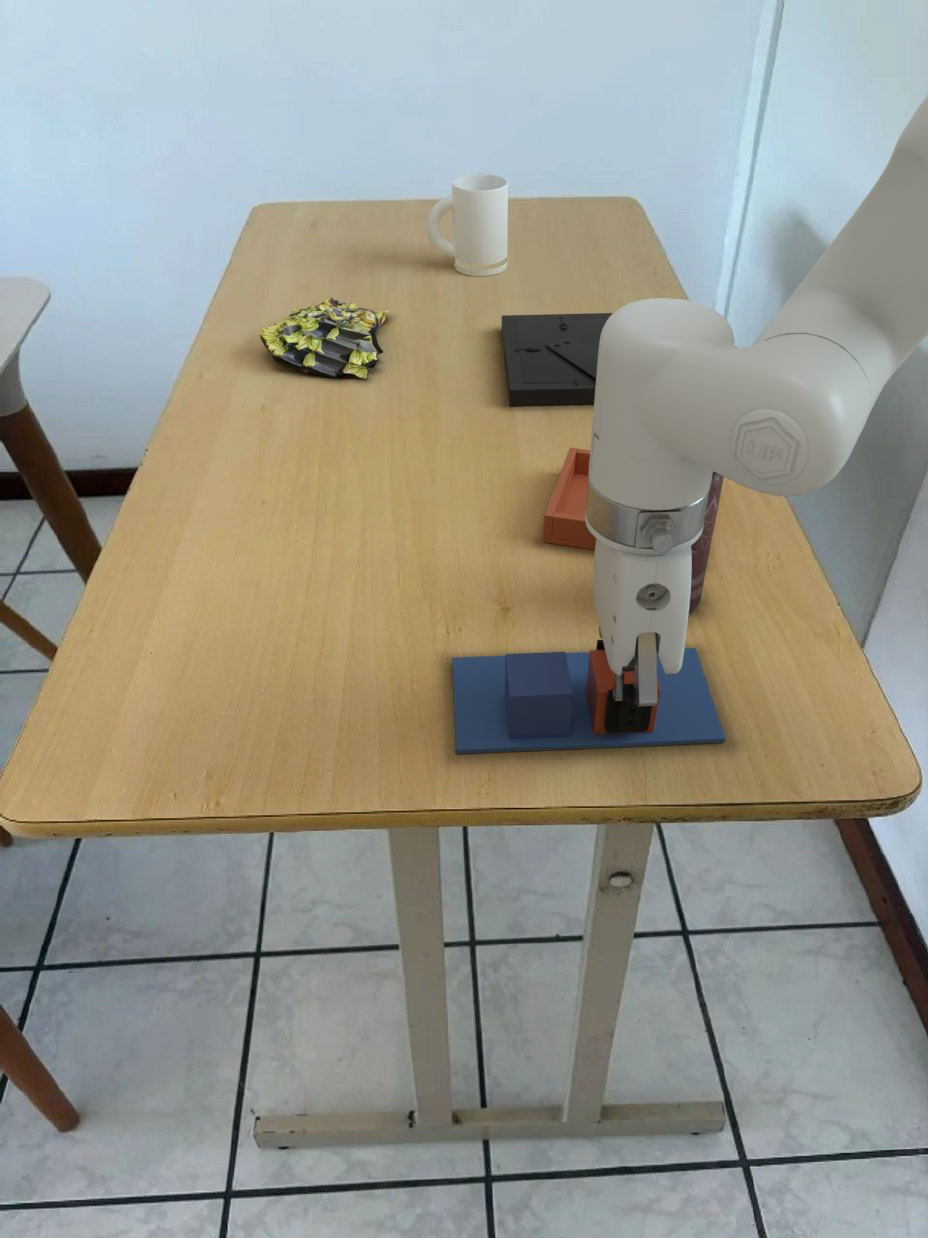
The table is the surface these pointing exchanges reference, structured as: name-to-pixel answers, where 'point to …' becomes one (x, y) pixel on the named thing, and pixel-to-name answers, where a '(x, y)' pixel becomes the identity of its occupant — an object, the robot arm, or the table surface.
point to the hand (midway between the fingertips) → (620, 702)
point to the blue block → (538, 695)
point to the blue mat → (579, 709)
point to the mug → (474, 223)
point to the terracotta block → (606, 690)
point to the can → (704, 542)
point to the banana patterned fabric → (327, 339)
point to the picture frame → (552, 358)
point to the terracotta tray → (570, 504)
